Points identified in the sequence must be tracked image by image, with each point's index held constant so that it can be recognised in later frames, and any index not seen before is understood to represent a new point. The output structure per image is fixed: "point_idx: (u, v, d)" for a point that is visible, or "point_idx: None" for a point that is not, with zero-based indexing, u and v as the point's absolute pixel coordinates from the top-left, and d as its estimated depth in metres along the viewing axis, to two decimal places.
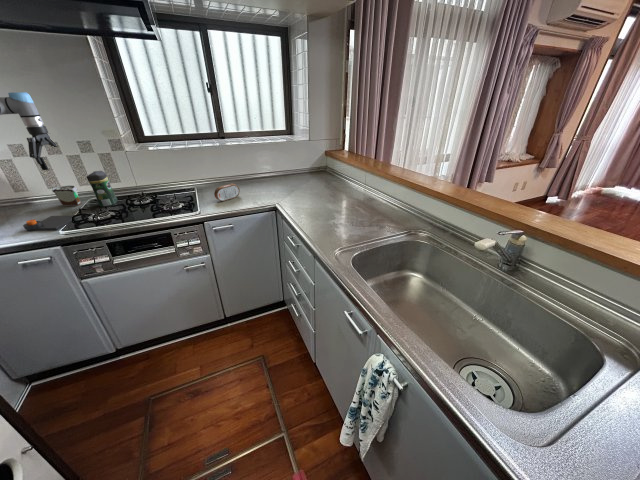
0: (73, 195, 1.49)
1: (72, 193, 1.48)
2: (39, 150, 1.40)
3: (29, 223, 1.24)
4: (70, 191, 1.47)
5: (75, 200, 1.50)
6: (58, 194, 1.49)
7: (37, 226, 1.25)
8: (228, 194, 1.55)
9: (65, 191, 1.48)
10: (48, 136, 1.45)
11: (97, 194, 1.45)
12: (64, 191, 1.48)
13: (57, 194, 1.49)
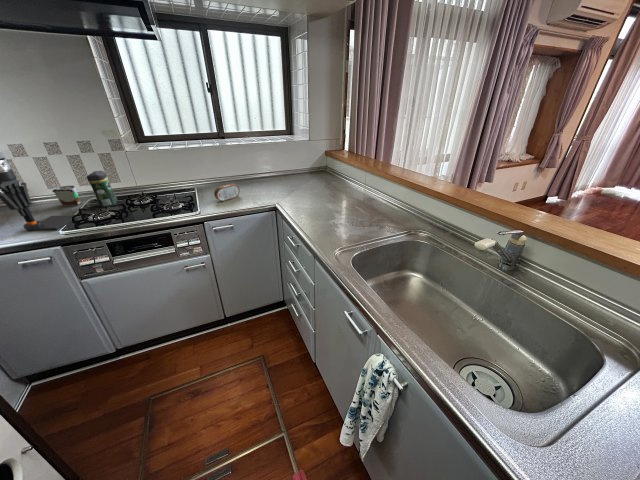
0: (73, 195, 1.49)
1: (72, 193, 1.48)
2: (16, 201, 1.18)
3: (29, 224, 1.24)
4: (70, 191, 1.47)
5: (75, 200, 1.50)
6: (58, 194, 1.49)
7: (37, 226, 1.25)
8: (228, 194, 1.55)
9: (65, 191, 1.48)
10: (17, 182, 1.18)
11: (97, 194, 1.45)
12: (64, 191, 1.48)
13: (57, 194, 1.49)
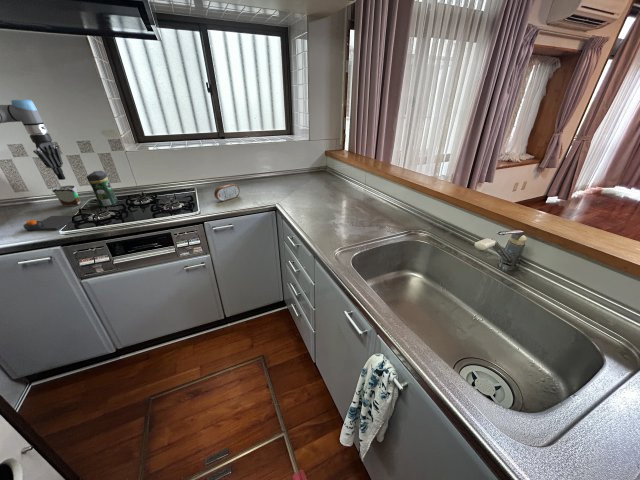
0: (73, 195, 1.49)
1: (72, 193, 1.48)
2: (51, 160, 1.40)
3: (29, 223, 1.24)
4: (70, 191, 1.47)
5: (75, 200, 1.50)
6: (58, 194, 1.49)
7: (37, 226, 1.25)
8: (228, 194, 1.55)
9: (65, 191, 1.48)
10: (52, 144, 1.41)
11: (97, 194, 1.45)
12: (64, 191, 1.48)
13: (57, 194, 1.49)
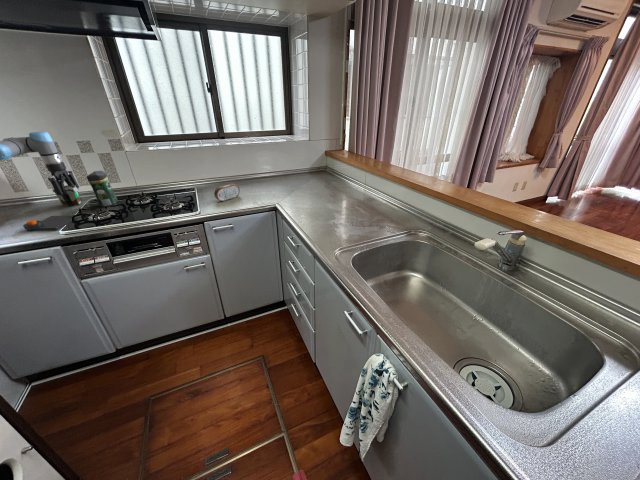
0: (74, 195, 1.49)
1: (73, 193, 1.48)
2: (63, 187, 1.46)
3: (29, 223, 1.24)
4: (71, 191, 1.48)
5: (76, 200, 1.51)
6: None
7: (37, 226, 1.25)
8: (228, 194, 1.55)
9: (66, 191, 1.48)
10: (66, 171, 1.48)
11: (97, 194, 1.45)
12: None
13: None
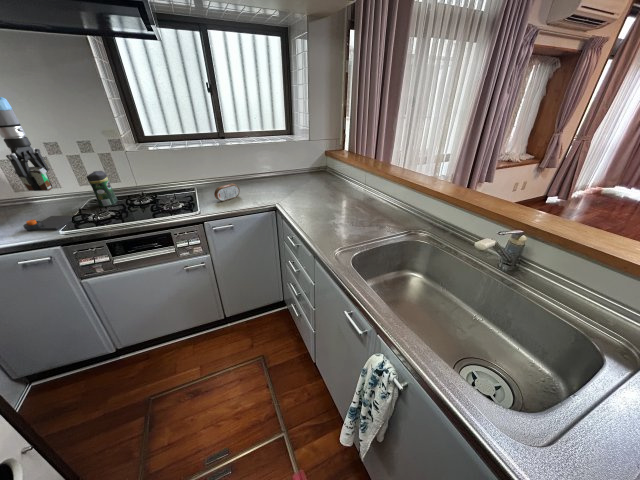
0: (41, 178, 1.22)
1: (40, 175, 1.22)
2: (27, 168, 1.19)
3: (29, 223, 1.24)
4: (37, 173, 1.21)
5: (44, 184, 1.24)
6: (22, 177, 1.22)
7: (37, 226, 1.25)
8: (228, 194, 1.55)
9: (31, 173, 1.21)
10: (31, 149, 1.21)
11: (97, 194, 1.45)
12: None
13: (21, 177, 1.22)
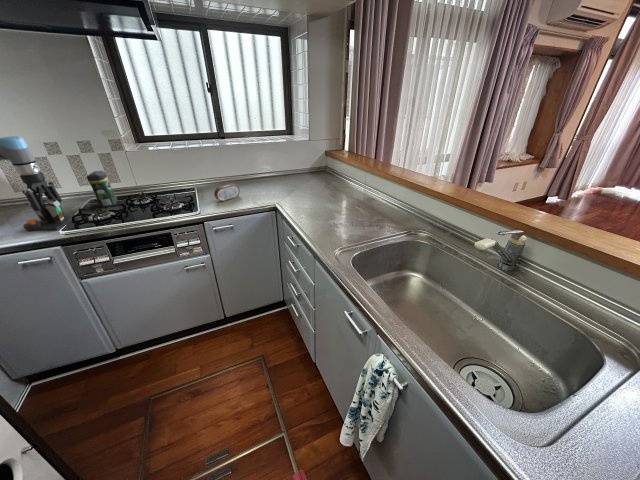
0: (55, 210, 1.27)
1: (53, 208, 1.26)
2: (41, 202, 1.24)
3: (29, 223, 1.24)
4: (51, 206, 1.26)
5: (57, 216, 1.28)
6: None
7: (37, 226, 1.25)
8: (228, 194, 1.55)
9: (45, 206, 1.26)
10: (45, 183, 1.26)
11: (97, 194, 1.45)
12: None
13: None
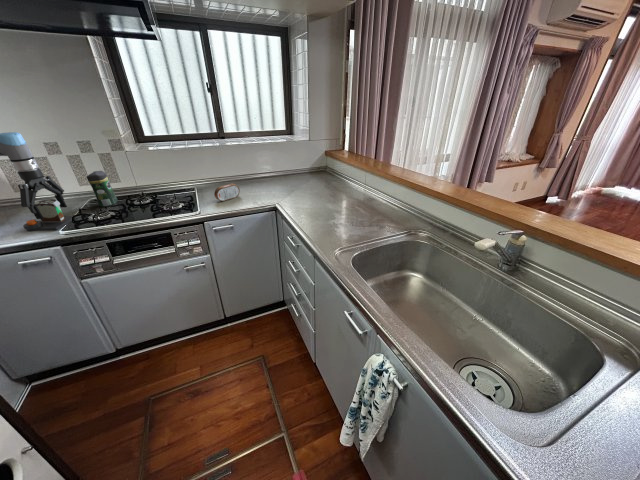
0: (55, 210, 1.27)
1: (53, 208, 1.26)
2: (33, 197, 1.20)
3: (29, 223, 1.24)
4: (51, 206, 1.26)
5: (57, 216, 1.28)
6: None
7: (37, 226, 1.25)
8: (228, 194, 1.55)
9: (45, 206, 1.26)
10: (43, 179, 1.25)
11: (97, 194, 1.45)
12: (44, 206, 1.26)
13: None
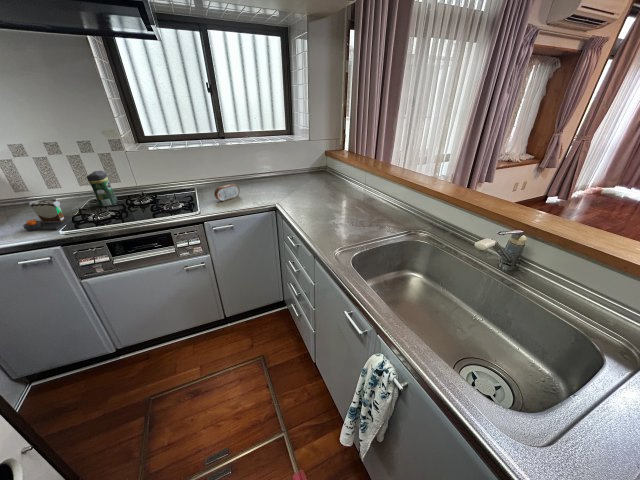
0: (55, 210, 1.27)
1: (53, 208, 1.26)
2: None
3: (29, 223, 1.24)
4: (51, 206, 1.26)
5: (57, 216, 1.28)
6: (37, 209, 1.27)
7: (37, 226, 1.25)
8: (228, 194, 1.55)
9: (45, 206, 1.26)
10: None
11: (97, 194, 1.45)
12: (44, 206, 1.26)
13: (36, 209, 1.27)
